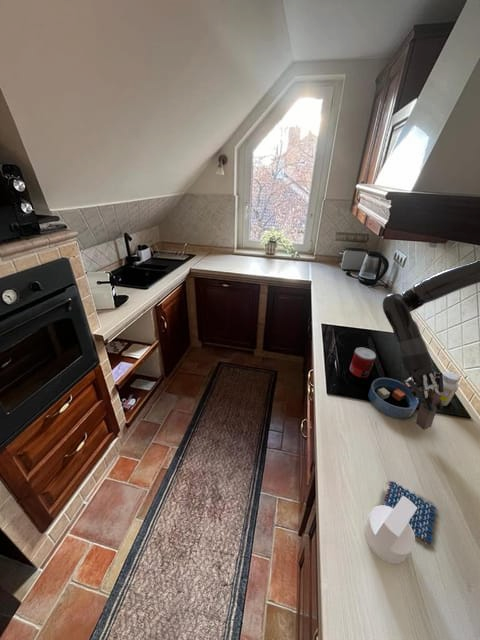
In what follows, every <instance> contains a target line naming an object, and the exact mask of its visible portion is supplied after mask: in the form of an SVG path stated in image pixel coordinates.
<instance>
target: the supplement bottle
mask: <svg viewBox="0 0 480 640" xmlns="http://www.w3.org/2000/svg"><path fill="white" fill-rule="evenodd" d="M442 374H443V390H444V391H443V392H441V393H440V396H441V398H440V400H441V403H442V407H447V406H448V405H449V404H450V403H451V401H452V399H453V397H454V396H455V394H456V392H457V391H458V389H459V387H460V386H459V383H458V382H459V380H460V376H459V375H458V374H457V373H455V372H452V371H449V370H445V371H443V372H442ZM437 386H438V387H437V388H439V385H437ZM432 391H433V389H432Z"/></svg>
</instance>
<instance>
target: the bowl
mask: <svg viewBox="0 0 480 640" xmlns="http://www.w3.org/2000/svg"><path fill="white" fill-rule="evenodd" d="M381 388H385V389H386V390H387V391H389V392H393V391H395V390H397V389H400V390H401V391H402V392H404V393H405V394H406V395H405V397H404V399H403V400H404V401H405V402H406V403H407V405H408V407H400V406H397V405H393V404H391V403H389V402H387V401H385V399H383V400H382V399H381V398H380V397H379V396H378V395H377V394H376V393H377V390H378V389H381ZM367 396H368V397H367V398H368V399H369V401H370V403H371V404H372V406H374V407H375V408H376V409H377V410H378V411H380V412H382V413H383V414H385V415H388V416H389V417H393V418H397V419H407V418H409V417H411V416H413V415H414V413H415V411H416V410H417V407H418V405H419V404H420V402H419V398H414V397H413V395H412V394H411V393H410V391H409V390H408V389H407V387H406V386H405V385H404V383H403V382H402V381H399V380H398V379H394V378H390V377H378V378H376V379H374V380H373V381H372V382H371V384H370V387H369V389H368V394H367Z"/></svg>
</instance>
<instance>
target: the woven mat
mask: <svg viewBox="0 0 480 640" xmlns="http://www.w3.org/2000/svg"><path fill="white" fill-rule="evenodd" d="M388 486H389V487H388V488H387V489H386V490H387V491H388V492H386V494H385V496H384V501H385V502H384V504H382V505H385V506H389V507H391V508H393V509H394V507H395V506H396V504H397V503H398V502H399V500H400V499H401V497H402V496H405V497H406V498H407V499H409V500H410V501H411V502H412V503H413V504H414V505H415V506H416V507H417V510H416V511H415V513H414V514H413V516H412V517H411V519H410V520H409V522H408V523H409V524H410V526H411V528H412V530H413V532H414V536H415V537H418V538H419V539H421V540H422V541H424V543H425V544H426V545H431V542H432V540H433V537H432V534H433V533H434V531H433V528H434V527H435V525H434V521H435V516H436V513H435V510H436V509H437V507H435V506H434V505H432V504H431V503H429V501H428V500H427V501H426V500H425V499H422V497H421V496H418V495H416V493H413V492H412V491H411V490H410V491H409V489H408V488H407V489H406V487H402V486H403V485H402V484H400V485H399V483H397V482H396V481H392V480H391V481H389V483H388Z"/></svg>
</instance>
